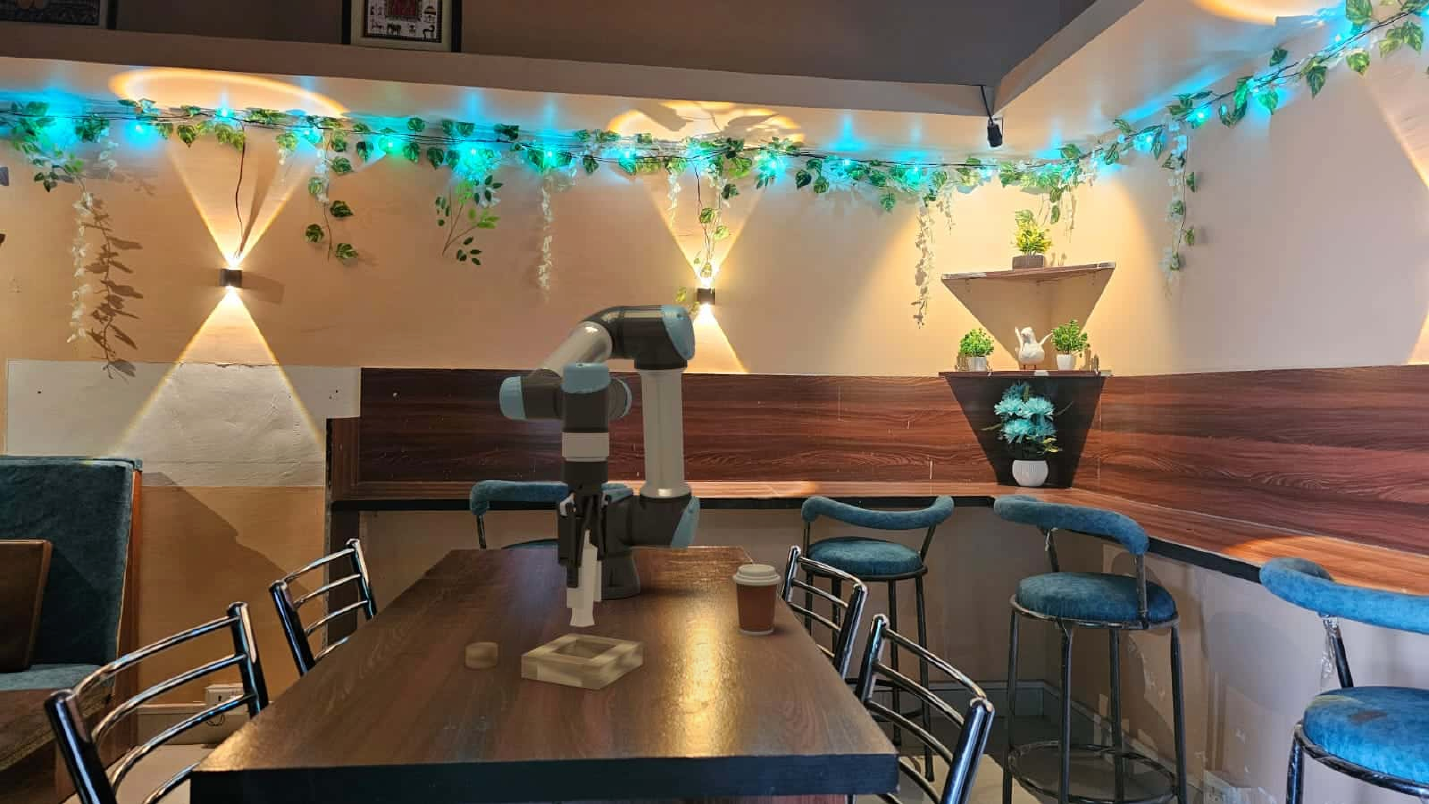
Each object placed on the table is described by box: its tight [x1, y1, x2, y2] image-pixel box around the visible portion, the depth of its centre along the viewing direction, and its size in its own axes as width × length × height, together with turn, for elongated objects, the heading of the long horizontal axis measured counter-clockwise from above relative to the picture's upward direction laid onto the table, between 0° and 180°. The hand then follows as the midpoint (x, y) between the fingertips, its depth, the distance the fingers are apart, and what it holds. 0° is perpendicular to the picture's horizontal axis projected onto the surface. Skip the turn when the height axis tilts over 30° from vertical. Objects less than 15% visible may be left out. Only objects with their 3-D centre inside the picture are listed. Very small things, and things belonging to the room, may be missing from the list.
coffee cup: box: [732, 563, 782, 636], centre depth 160 cm, size 9×9×12 cm
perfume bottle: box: [569, 530, 597, 628], centre depth 136 cm, size 5×4×15 cm
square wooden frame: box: [520, 632, 644, 691], centre depth 136 cm, size 14×14×4 cm
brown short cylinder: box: [465, 641, 499, 670], centre depth 139 cm, size 5×5×3 cm
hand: (584, 603), depth 136 cm, fingers closed on perfume bottle, 4 cm apart
